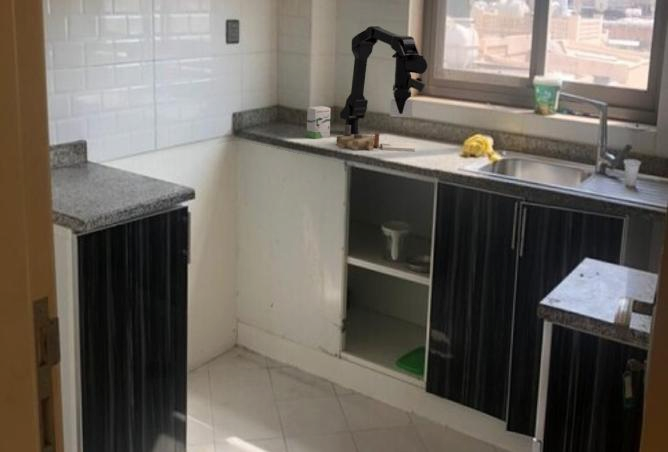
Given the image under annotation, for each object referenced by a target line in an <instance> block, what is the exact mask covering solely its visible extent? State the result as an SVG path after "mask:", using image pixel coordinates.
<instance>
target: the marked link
mask: <svg viewBox="0 0 668 452" xmlns="http://www.w3.org/2000/svg"><path fill="white" fill-rule="evenodd" d="M412 115H413V99H407V100H406V102H405V106H404V109H403V113H402V114H399V111H398V108H397V104H396V101H395V98H391V99H390V109H389V117H390V118H391V117H392V118H394V117H395V118H413V117H412Z"/></svg>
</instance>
